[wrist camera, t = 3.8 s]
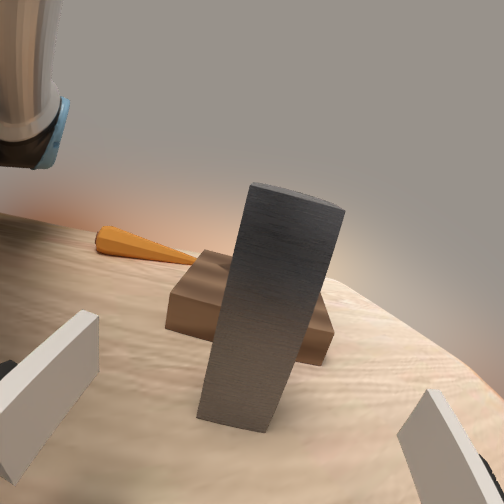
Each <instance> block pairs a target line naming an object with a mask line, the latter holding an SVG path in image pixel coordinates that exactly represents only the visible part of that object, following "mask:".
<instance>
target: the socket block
mask: <svg viewBox="0 0 504 504" xmlns="http://www.w3.org/2000/svg"><path fill="white" fill-rule="evenodd" d="M231 261H232V256H228V255H224V254H220V253H216V252H212V251H209V250H204V251H203V252H202V253H201V255H200V256H199V257H198V258H197V259H196V261H195V262H194V263H193V264H192V266H191V267H190V268H189V269H188V271H187V272H186V273H185V274H184V276H183V277H182V278H181V279H180V281H179V282H178V283H177V285H176V286H175V287H174V288H173V290H172V291H171V292H170V297H169V304H168V310H167V317H166V324H165V328H166V329H169V330H173V331H176V332H179V333H183V334H186V335H190V336H193V337H197V338H201V339H204V340H208V341H212V342H213V339H214V335H215V330H216V326H217V322H218V317H219V313H220V309H221V304H222V300H223V296H224V291H225V287H226V283H227V278H228V274H229V270H230V266H231ZM333 336H334V330H333V327H332V324H331V321H330V318H329V315H328V313H327V310H326V307H325V304H324V301H323V298H322V296H321V293H320V294H319V297H318V300H317V303H316V305H315V308H314V311H313V314H312V317H311V320H310V322H309V325H308V328H307V331H306V333H305V336H304V339H303V342H302V344H301V347H300V350H299V352H298V355H297V357H296V360H295V361H297V362H302V363H308V364H313V365H318V366H321V364H322V362H323V360H324V357H325V355H326V353H327V350H328V348H329V346H330V343H331V341H332V338H333Z"/></svg>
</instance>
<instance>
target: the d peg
mask: <svg viewBox="0 0 504 504" xmlns="http://www.w3.org/2000/svg"><path fill="white" fill-rule="evenodd" d="M344 214H345V210H343V209H342V208H340V207H339V206H337V205H335V204H333V203H330V202H328V201H325V200H322V199H319V198H316V197H313V196H310V195H307V194H303V193H300V192H296V191H292V190H289V189H285V188H281V187H276V186H272V185H267V184H262V183H252V184H251V185H250V187H249V191H248V195H247V199H246V203H245V207H244V211H243V216H242V220H241V224H240V228H239V232H238V236H237V241H236V245H235V249H234V253H233V257H232V261H231V266H230V270H229V274H228V278H227V283H226V287H225V291H224V296H223V300H222V304H221V309H220V313H219V317H218V322H217V326H216V330H215V335H214V339H213V344H212V348H211V353H210V357H209V362H208V366H207V371H206V375H205V380H204V384H203V389H202V393H201V398H200V403H199V407H198V412H197V417H196V418H200V419H203V420H207V421H211V422H215V423H219V424H224V425H228V426H232V427H237V428H242V429H247V430H252V431H257V432H262V433H265V432H266V430H267V428H268V426H269V423H270V421H271V419H272V416H273V414H274V412H275V409H276V407H277V405H278V402H279V400H280V397H281V395H282V393H283V390H284V388H285V385H286V383H287V380H288V378H289V375H290V373H291V370H292V368H293V365H294V363H295V360H296V357H297V355H298V352H299V350H300V347H301V344H302V342H303V339H304V336H305V333H306V331H307V328H308V325H309V322H310V320H311V317H312V314H313V311H314V308H315V305H316V303H317V300H318V297H319V294H320V291H321V288H322V285H323V282H324V279H325V276H326V273H327V270H328V267H329V264H330V260H331V257H332V254H333V251H334V248H335V244H336V241H337V238H338V235H339V231H340V228H341V225H342V221H343V217H344Z"/></svg>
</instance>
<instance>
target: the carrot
mask: <svg viewBox="0 0 504 504" xmlns="http://www.w3.org/2000/svg"><path fill="white" fill-rule="evenodd" d="M95 244H96V247H97V251H98V252H100V253H103V254H108V255H116V256H123V257H131V258H139V259H146V260H154V261H162V262H170V263H178V264H187V265H192V264H193V263H194V262H195V261H196V259H197V258H194V257H192V256H190V255H187V254H185V253H182V252H179V251H177V250H174V249H171V248H169V247H166V246H163V245H161V244H158V243H155V242H152V241H150V240H147V239H144V238H142V237H139V236H137V235H134V234H131V233H129V232H126V231H123V230H121V229H118V228H116V227H113V226H103V227H102V228H101V230H100V231H99V232H97V235H96V239H95Z"/></svg>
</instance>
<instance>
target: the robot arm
mask: <svg viewBox="0 0 504 504" xmlns="http://www.w3.org/2000/svg"><path fill="white" fill-rule="evenodd" d="M62 4H63V0H0V166H3V167H17V168H30V169H31V170H36V169H48V168H50V167H52V166H53V164H54V162H55V160H56V157H57V153H58V149H59V145H60V141H61V137H62V134H63V130H64V127H65V123H66V119H67V115H68V111H69V107H70V101H69V100H68V99H66V98H64V97H61V96H60V94H59V90H58V88H57V86H56V85H55V83H54V82H53V81H52V80H51V76H52V66H53V58H54V50H55V43H56V36H57V30H58V24H59V19H60V14H61V9H62ZM98 373H99V315H96V314H93V313H91V312H88V311H85V310H83V309H82V310H81V311H79V312H78V313H77V314H76V315H75V316H73V317H72V318H71V319H70V320H69V321H67V322H66V323H65V324H64V325H63V326H62V327H60V328H59V329H58V330H57V331H56V332H54V333H53V334H52V335H51V336H50V337H49V338H47V339H46V340H45V341H44V342H43V343H42V344H41V345H39V346H38V347H37V348H36V349H35V350H34V351H33V352H31V353H30V354H29V355H28V356H27V357H26V358H25V359H24V360H23V361H21V362H20V363H19V364H17V363H15V362H14V361H12V360H9V361H6V362H4V363H1V364H0V476H1V477H3V478H4V479H5V480H7V481H8V482H10V483H11V484H13V485H14V486H16V484H17V483H18V481H19V480H20V478H21V477H22V475H23V474H24V473H25V471H26V470H27V468H28V467H29V465H30V464H31V463H32V461H33V460H34V458H35V457H36V455H37V454H38V453H39V451H40V450H41V448H42V447H43V446H44V444H45V443H46V442H47V440H48V439H49V437H50V436H51V435H52V433H53V432H54V431H55V429H56V428H57V426H58V425H59V424H60V422H61V421H62V420H63V418H64V417H65V416H66V414H67V413H68V412H69V410H70V409H71V408H72V406H73V405H74V404H75V402H76V401H77V400H78V398H79V397H80V396H81V395H82V393H83V392H84V391H85V389H86V388H87V387H88V385H89V384H90V383H91V382H92V380H93V379H94V378H95V376H96V375H97V374H98ZM397 437H398V440H399V442H400V445H401V448H402V450H403V453H404V456H405V458H406V461H407V464H408V467H409V469H410V472H411V475H412V478H413V481H414V484H415V487H416V490H417V492H418V495H419V498H420V501H421V504H504V493H503V491H502V489H501V487H500V485H499V483H498V481H496V477H495V475H494V474H492V470H491V468H490V466H489V464H488V463H487V461H486V460H485V459H484V458H483V457H482V456H481V455H480V454H478V453H477V451H476V449H475V447H474V446H473V444H472V442H471V440H470V439H469V437H468V435H467V433H466V432H465V430H464V428H463V427H462V425H461V423H460V421H459V420H458V418H457V416H456V415H455V413H454V412H453V410H452V408H451V407H450V405H449V403H448V402H447V400H446V399H445V397H444V395H443V394H442V392H441V391H440V390H434V389H426V391H425V393H424V394H423V396H422V398H421V399H420V401H419V402H418V404H417V405H416V407H415V409H414V410H413V412H412V413H411V415H410V416H409V418H408V419H407V420H406V422H405V423H404V425H403V426H402V428H401V429H400V431H399V432H398V433H397Z"/></svg>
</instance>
